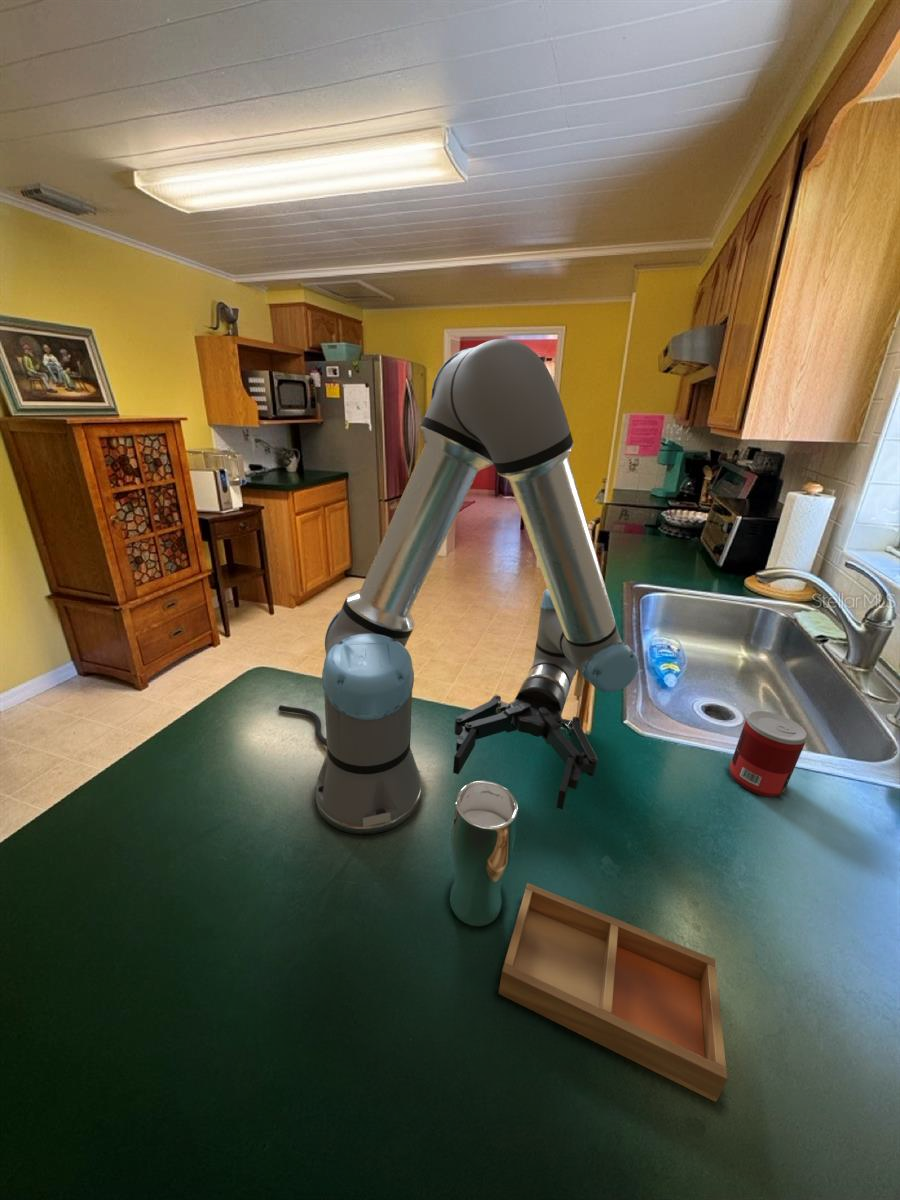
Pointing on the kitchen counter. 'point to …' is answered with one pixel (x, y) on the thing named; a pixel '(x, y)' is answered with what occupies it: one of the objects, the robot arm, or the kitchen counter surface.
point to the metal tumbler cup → (481, 850)
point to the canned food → (767, 753)
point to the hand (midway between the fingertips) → (506, 782)
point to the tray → (618, 988)
